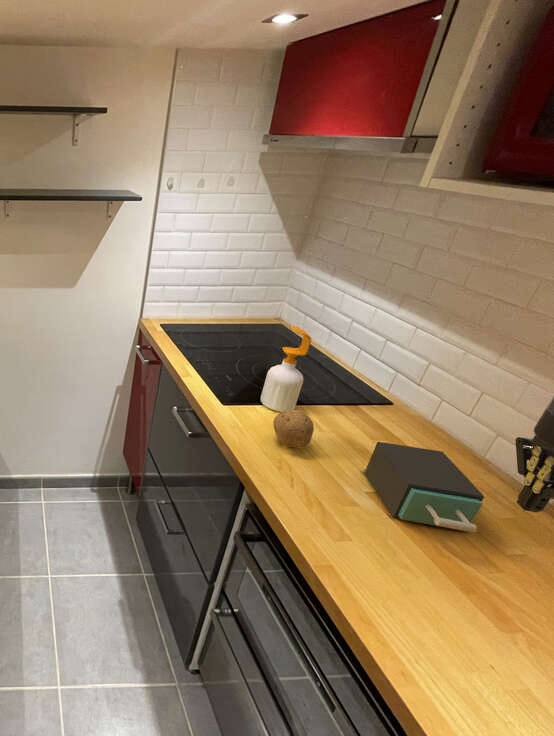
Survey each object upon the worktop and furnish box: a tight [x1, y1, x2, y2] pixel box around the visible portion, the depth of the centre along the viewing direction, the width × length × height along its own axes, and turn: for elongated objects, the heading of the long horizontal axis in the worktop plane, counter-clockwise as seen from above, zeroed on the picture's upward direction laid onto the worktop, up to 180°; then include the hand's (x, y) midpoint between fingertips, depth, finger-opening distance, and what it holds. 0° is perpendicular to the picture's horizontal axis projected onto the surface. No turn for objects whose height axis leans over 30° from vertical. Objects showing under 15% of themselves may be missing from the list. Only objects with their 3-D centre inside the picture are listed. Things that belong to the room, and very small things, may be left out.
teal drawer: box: [398, 488, 483, 533], centre depth 92 cm, size 18×11×7 cm, turn 165°
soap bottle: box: [260, 325, 312, 413], centre depth 127 cm, size 9×9×25 cm
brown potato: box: [273, 409, 315, 449], centre depth 113 cm, size 9×9×10 cm
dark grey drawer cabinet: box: [363, 441, 485, 520], centre depth 96 cm, size 14×13×9 cm
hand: (527, 508), depth 71 cm, fingers closed
